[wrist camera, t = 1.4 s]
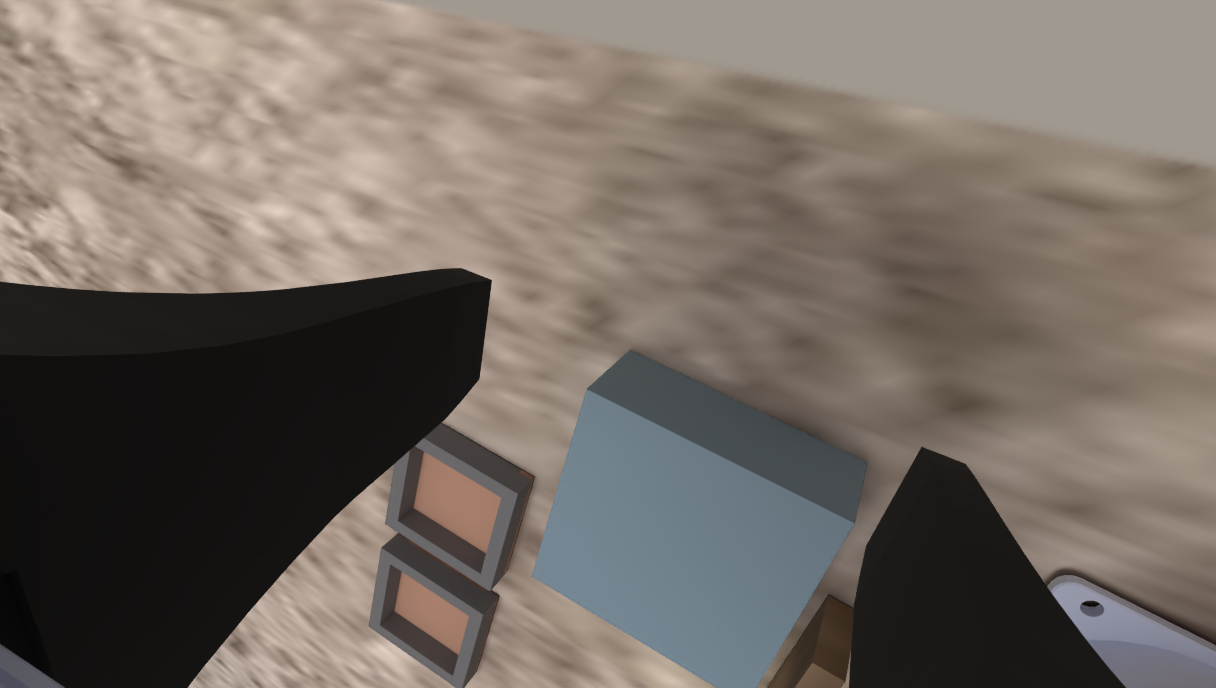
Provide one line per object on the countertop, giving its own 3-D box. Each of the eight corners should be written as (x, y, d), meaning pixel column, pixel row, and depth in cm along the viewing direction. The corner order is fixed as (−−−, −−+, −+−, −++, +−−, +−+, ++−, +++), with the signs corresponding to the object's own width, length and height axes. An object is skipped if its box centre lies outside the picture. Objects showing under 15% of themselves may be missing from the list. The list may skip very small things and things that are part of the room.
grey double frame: (534, 477, 26) (517, 494, 25) (476, 671, 32) (461, 691, 31) (421, 411, 27) (400, 424, 26) (386, 609, 34) (368, 626, 33)
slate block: (868, 456, 20) (854, 523, 17) (770, 627, 24) (745, 705, 21) (634, 346, 23) (586, 389, 20) (578, 518, 26) (531, 576, 23)
